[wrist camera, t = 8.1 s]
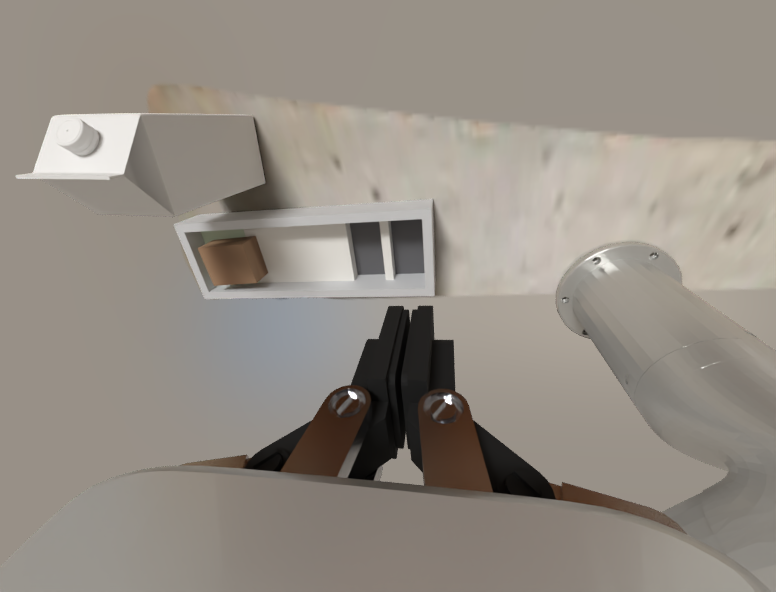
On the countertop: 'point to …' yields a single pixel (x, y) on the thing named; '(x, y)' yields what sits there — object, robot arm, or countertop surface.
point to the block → (234, 261)
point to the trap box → (325, 250)
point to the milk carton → (149, 161)
